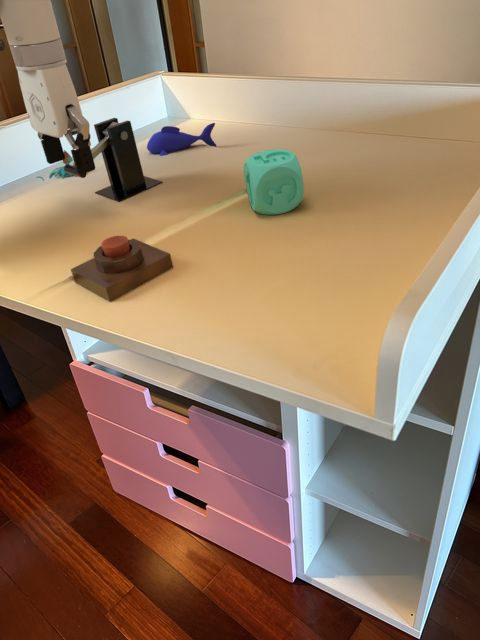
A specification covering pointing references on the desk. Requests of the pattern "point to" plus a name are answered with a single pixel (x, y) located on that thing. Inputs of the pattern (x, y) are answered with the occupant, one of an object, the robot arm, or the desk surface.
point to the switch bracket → (122, 162)
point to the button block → (121, 270)
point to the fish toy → (176, 140)
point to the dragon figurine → (62, 168)
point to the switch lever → (95, 153)
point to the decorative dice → (273, 181)
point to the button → (115, 246)
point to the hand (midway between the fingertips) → (71, 166)
